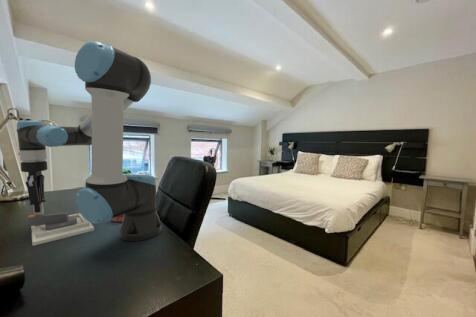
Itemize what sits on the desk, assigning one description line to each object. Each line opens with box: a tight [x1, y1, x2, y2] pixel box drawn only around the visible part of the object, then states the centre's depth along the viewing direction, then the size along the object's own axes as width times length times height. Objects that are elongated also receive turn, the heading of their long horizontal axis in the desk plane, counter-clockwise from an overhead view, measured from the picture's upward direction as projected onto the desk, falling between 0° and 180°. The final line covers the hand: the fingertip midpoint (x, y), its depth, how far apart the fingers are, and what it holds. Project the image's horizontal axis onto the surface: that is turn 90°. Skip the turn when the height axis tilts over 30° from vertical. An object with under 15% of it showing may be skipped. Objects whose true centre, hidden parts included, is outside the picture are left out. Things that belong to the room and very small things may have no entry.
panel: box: [30, 212, 95, 247], centre depth 88 cm, size 22×18×3 cm
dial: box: [27, 211, 77, 230], centre depth 87 cm, size 15×10×6 cm, turn 113°
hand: (39, 219), depth 86 cm, fingers closed
